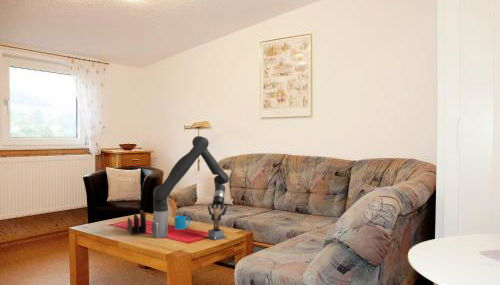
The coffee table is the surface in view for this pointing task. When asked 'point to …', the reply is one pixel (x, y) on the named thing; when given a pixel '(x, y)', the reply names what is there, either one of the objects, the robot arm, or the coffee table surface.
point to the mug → (181, 222)
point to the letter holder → (137, 224)
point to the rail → (216, 218)
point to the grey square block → (215, 234)
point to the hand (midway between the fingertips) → (215, 220)
